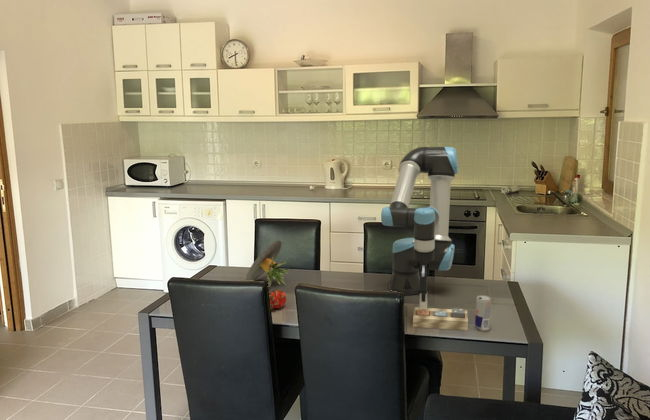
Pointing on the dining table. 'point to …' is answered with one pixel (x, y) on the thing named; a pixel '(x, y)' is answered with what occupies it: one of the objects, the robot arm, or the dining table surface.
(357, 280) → the dining table surface
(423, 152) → the robot arm
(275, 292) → the dragon fruit
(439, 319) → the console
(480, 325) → the energy drink
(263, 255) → the grey yellow green piece
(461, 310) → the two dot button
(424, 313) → the one dot button
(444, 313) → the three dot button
